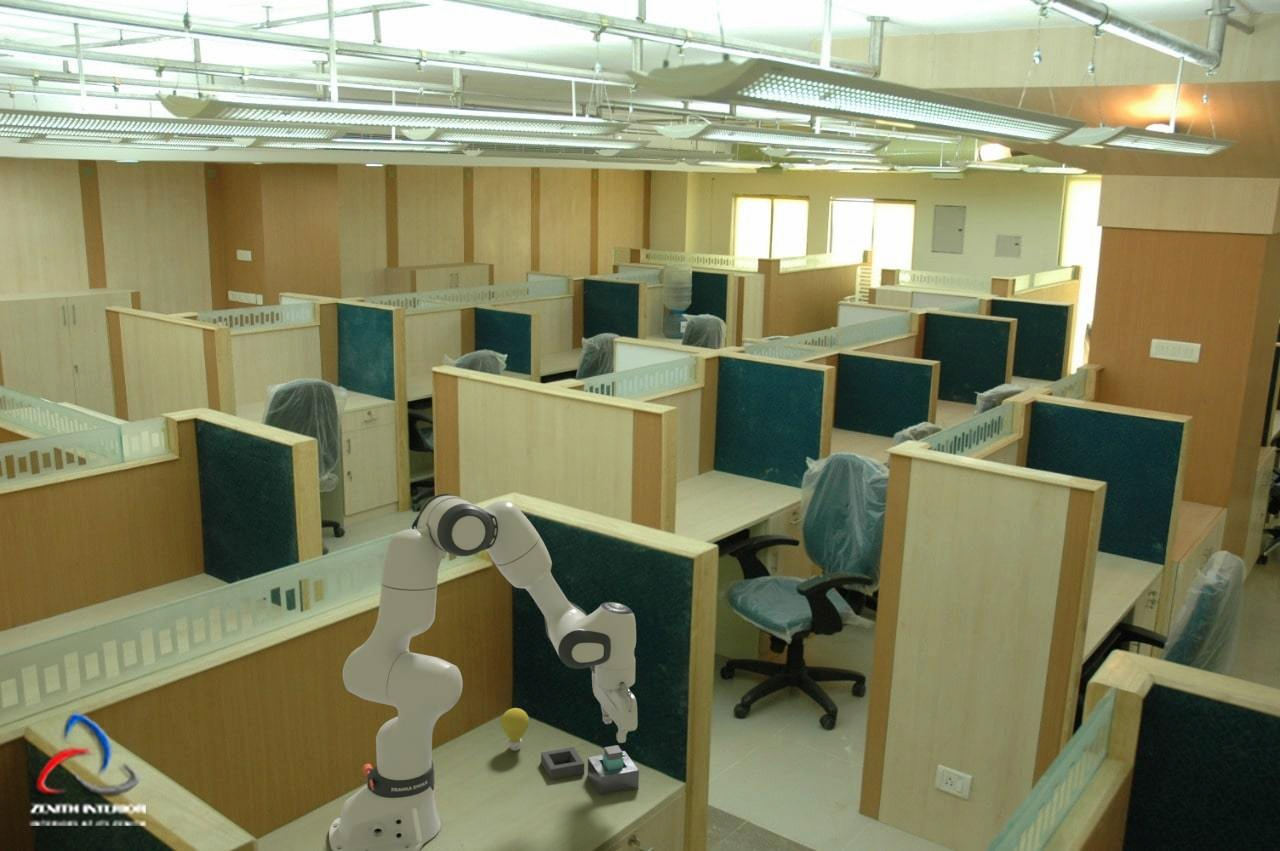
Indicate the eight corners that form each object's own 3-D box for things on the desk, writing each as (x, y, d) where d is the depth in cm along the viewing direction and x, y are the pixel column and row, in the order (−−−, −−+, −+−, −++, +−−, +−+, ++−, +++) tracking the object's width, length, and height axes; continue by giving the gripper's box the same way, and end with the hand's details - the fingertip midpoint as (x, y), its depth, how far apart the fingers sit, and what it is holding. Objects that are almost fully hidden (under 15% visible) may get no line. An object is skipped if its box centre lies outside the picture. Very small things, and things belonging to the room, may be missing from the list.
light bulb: (503, 740, 257) (503, 702, 255) (530, 741, 257) (531, 703, 255) (498, 754, 250) (498, 715, 248) (526, 755, 250) (527, 716, 248)
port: (600, 795, 234) (600, 776, 233) (587, 775, 242) (587, 756, 241) (638, 788, 237) (638, 769, 236) (624, 768, 245) (624, 750, 245)
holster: (550, 779, 240) (550, 769, 240) (541, 762, 247) (541, 752, 247) (584, 773, 243) (584, 763, 242) (573, 756, 250) (573, 747, 250)
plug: (607, 787, 237) (608, 754, 236) (602, 779, 241) (603, 747, 239) (622, 784, 239) (623, 752, 237) (617, 776, 242) (618, 744, 240)
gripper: (645, 691, 226) (643, 751, 228) (613, 654, 244) (612, 710, 247) (617, 695, 223) (616, 755, 226) (587, 658, 242) (586, 713, 245)
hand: (614, 731), depth 237 cm, fingers open, 8 cm apart
